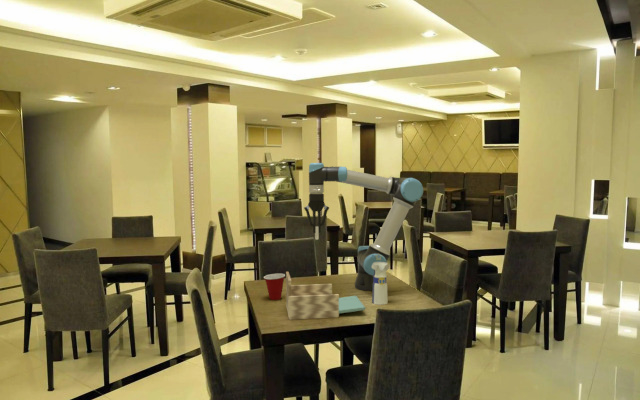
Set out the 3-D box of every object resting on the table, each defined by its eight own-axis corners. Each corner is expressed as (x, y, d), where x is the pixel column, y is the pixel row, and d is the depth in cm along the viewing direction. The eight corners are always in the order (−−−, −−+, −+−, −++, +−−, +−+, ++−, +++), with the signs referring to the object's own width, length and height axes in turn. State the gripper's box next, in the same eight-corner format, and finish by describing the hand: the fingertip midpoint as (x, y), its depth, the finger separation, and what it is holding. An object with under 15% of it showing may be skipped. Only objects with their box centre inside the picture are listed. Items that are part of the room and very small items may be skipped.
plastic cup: (265, 295, 243) (265, 272, 242) (286, 295, 243) (286, 272, 242) (262, 301, 232) (262, 277, 232) (284, 301, 232) (283, 277, 231)
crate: (331, 304, 227) (331, 269, 226) (338, 317, 208) (338, 279, 206) (286, 306, 224) (285, 271, 223) (289, 319, 205) (288, 281, 204)
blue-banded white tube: (391, 304, 226) (391, 253, 224) (374, 305, 225) (374, 253, 223) (386, 299, 234) (386, 250, 233) (369, 300, 233) (369, 250, 231)
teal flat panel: (332, 302, 227) (356, 299, 228) (339, 315, 208) (365, 311, 210) (331, 298, 227) (356, 295, 228) (338, 310, 208) (365, 307, 209)
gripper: (304, 193, 234) (304, 240, 236) (330, 193, 236) (330, 240, 238) (303, 193, 242) (303, 238, 243) (328, 192, 243) (328, 237, 245)
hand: (316, 239), depth 240 cm, fingers closed
